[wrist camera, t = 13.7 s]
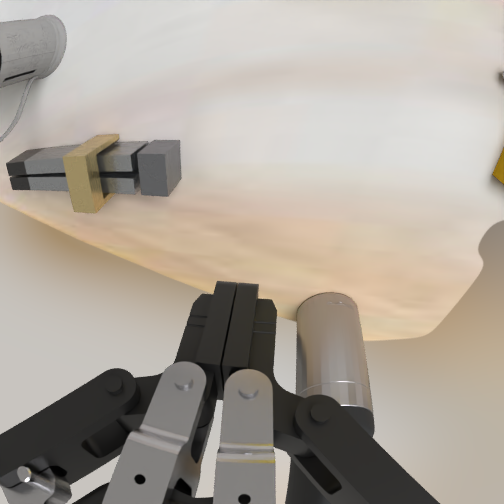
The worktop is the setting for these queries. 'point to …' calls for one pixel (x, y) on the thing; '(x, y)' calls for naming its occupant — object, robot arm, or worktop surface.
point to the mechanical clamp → (500, 166)
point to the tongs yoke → (159, 167)
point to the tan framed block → (87, 174)
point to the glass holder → (29, 52)
